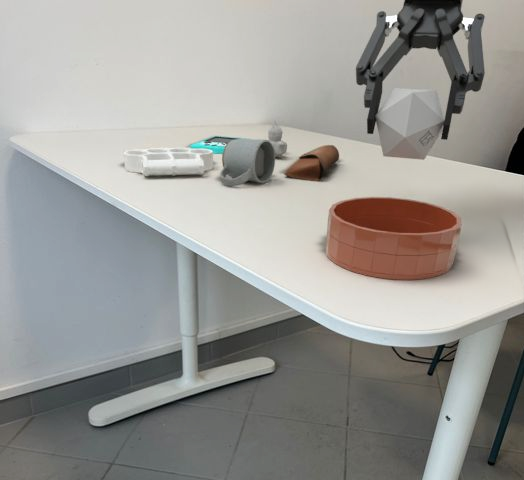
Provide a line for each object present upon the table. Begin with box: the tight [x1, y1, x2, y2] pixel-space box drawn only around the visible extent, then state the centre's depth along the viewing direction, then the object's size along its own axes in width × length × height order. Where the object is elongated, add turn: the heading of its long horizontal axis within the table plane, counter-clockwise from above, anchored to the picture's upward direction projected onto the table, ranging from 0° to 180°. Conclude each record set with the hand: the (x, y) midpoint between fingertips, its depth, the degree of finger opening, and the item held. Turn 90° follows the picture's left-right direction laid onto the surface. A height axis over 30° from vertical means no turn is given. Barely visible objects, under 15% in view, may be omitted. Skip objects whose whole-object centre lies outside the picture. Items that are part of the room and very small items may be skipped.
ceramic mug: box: [219, 138, 276, 187], centre depth 101 cm, size 11×8×8 cm
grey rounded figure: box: [267, 120, 288, 158], centre depth 122 cm, size 5×7×8 cm
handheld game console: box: [189, 135, 245, 154], centre depth 133 cm, size 10×16×1 cm, turn 162°
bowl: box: [325, 196, 463, 281], centre depth 69 cm, size 16×16×6 cm
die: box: [375, 87, 445, 161], centre depth 70 cm, size 8×9×10 cm
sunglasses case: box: [283, 144, 340, 182], centre depth 112 cm, size 18×7×7 cm
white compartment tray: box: [123, 147, 214, 177], centre depth 109 cm, size 3×18×15 cm
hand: (407, 129), depth 67 cm, fingers closed on die, 8 cm apart
